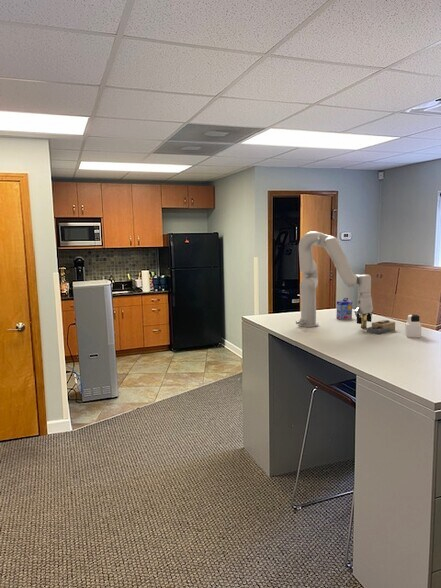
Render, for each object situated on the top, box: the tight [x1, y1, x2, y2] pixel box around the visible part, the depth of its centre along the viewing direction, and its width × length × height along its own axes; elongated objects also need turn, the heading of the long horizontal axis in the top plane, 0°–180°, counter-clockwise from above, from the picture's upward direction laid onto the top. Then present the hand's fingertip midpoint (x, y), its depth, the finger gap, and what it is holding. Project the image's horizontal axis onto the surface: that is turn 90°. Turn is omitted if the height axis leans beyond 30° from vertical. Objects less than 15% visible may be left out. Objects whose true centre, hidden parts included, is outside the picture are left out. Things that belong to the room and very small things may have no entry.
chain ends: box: [366, 319, 396, 335], centre depth 250 cm, size 16×8×6 cm, turn 125°
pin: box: [360, 314, 368, 330], centre depth 259 cm, size 3×3×10 cm
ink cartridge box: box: [335, 297, 353, 321], centre depth 291 cm, size 10×6×14 cm, turn 115°
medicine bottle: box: [404, 314, 422, 339], centre depth 235 cm, size 7×7×12 cm
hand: (364, 322), depth 260 cm, fingers open, 9 cm apart
